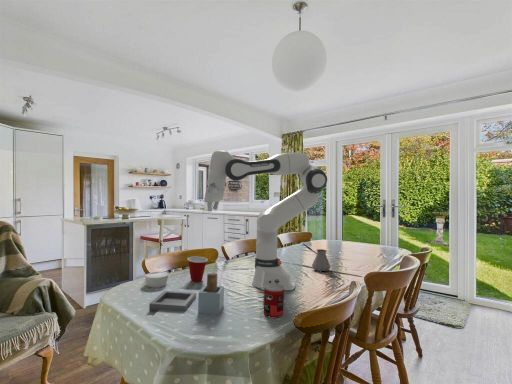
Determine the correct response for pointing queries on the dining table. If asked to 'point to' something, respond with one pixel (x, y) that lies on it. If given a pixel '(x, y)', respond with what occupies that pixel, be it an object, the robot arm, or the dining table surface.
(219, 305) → the grey square bin
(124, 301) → the dining table surface
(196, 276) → the plastic cup
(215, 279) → the walnut dowel
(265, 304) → the canned food
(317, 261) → the coffee pot
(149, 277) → the ramekin
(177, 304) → the tray
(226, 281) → the dining table surface
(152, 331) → the dining table surface
